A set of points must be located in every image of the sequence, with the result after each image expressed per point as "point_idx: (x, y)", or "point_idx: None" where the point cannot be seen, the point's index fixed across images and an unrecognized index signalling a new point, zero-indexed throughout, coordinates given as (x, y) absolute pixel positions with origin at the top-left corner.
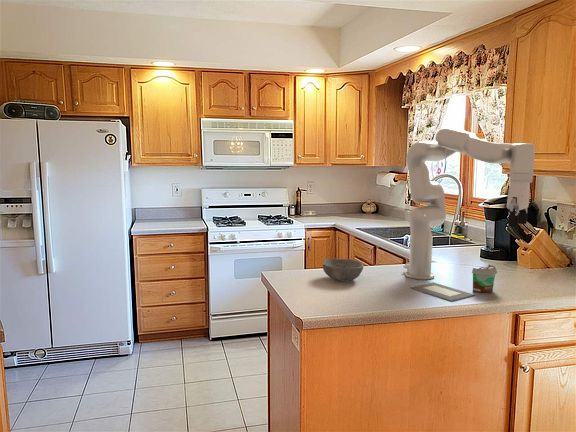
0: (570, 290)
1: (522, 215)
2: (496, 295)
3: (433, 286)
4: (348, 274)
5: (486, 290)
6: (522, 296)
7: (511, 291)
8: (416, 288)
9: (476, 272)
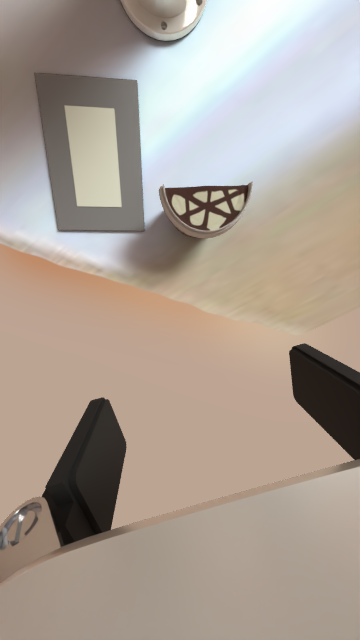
0: (344, 313)
1: (346, 423)
2: (190, 255)
3: (102, 115)
4: None
5: (184, 233)
6: (230, 288)
7: (245, 254)
8: (42, 96)
9: (162, 203)
